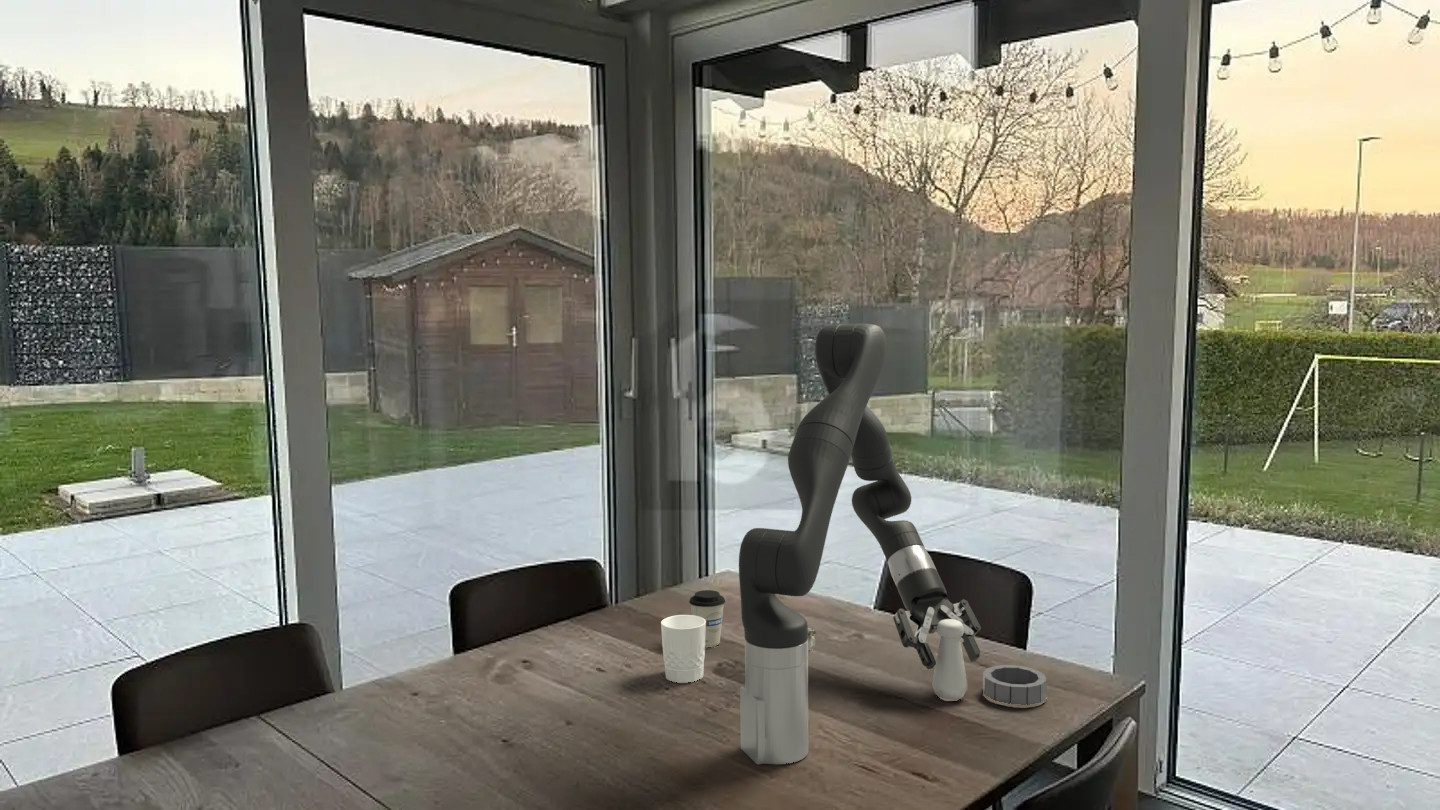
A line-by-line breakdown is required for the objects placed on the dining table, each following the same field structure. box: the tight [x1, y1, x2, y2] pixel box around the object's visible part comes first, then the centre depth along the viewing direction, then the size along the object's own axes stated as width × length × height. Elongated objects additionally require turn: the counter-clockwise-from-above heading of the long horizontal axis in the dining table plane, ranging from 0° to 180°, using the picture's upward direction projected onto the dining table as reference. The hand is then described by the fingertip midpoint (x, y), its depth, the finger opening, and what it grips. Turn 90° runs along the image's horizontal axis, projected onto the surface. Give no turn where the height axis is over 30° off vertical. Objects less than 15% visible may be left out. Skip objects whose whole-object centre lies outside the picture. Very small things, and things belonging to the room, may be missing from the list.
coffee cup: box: [688, 589, 726, 647], centre depth 201 cm, size 7×7×10 cm
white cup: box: [660, 614, 706, 684], centre depth 184 cm, size 8×8×10 cm
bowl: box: [982, 664, 1048, 705], centre depth 173 cm, size 10×10×4 cm
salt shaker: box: [931, 619, 969, 699], centre depth 173 cm, size 6×6×13 cm
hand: (954, 663), depth 172 cm, fingers open, 8 cm apart
